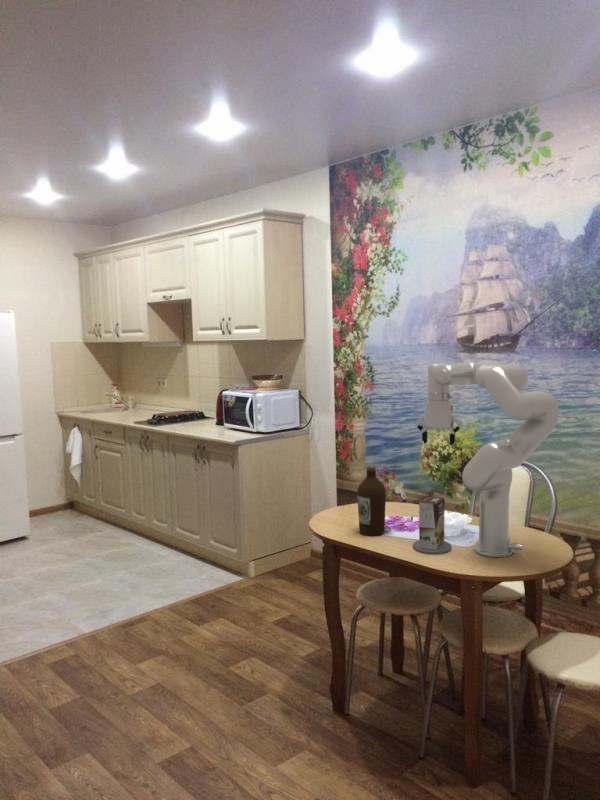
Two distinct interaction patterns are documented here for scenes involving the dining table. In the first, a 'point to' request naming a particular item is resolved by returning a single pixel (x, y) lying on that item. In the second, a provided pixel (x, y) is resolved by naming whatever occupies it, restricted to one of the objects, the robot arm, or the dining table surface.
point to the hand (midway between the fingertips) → (438, 443)
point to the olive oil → (371, 504)
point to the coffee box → (431, 522)
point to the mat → (441, 550)
